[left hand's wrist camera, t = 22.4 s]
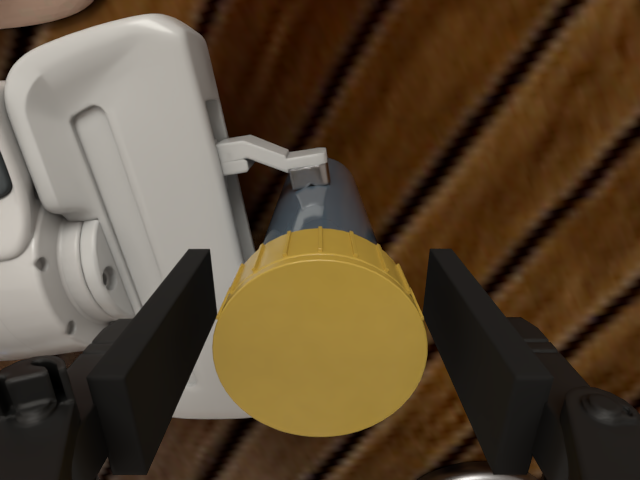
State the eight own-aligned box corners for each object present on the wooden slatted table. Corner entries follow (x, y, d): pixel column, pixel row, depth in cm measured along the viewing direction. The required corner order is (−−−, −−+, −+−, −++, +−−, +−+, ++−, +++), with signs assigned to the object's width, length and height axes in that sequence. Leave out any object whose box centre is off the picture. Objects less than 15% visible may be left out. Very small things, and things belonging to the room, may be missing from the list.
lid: (417, 372, 13) (435, 426, 11) (250, 392, 14) (238, 449, 12) (403, 212, 11) (423, 241, 9) (207, 240, 12) (183, 275, 9)
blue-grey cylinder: (360, 159, 25) (418, 265, 10) (353, 231, 27) (393, 407, 12) (284, 154, 25) (232, 254, 10) (281, 226, 27) (235, 400, 12)
